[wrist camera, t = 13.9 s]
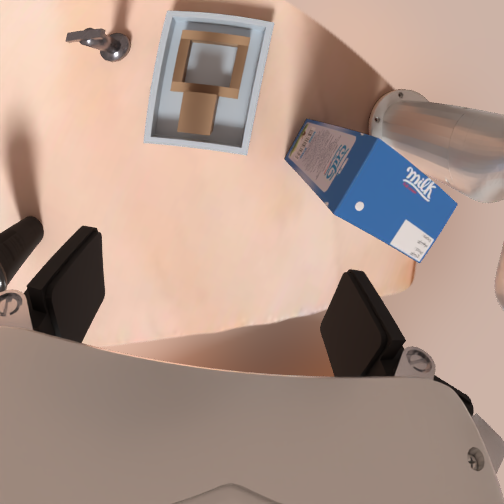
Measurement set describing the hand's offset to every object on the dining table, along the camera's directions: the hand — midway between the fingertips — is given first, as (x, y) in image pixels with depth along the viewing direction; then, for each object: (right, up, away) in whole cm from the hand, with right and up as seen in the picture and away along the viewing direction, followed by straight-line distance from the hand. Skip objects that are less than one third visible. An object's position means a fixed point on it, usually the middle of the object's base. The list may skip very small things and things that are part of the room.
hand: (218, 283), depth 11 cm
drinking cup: (-35, +5, +28) cm, 45 cm away
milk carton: (+11, +14, +27) cm, 32 cm away
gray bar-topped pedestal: (-16, +27, +17) cm, 36 cm away
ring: (-4, +22, +20) cm, 30 cm away
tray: (-4, +22, +21) cm, 31 cm away
